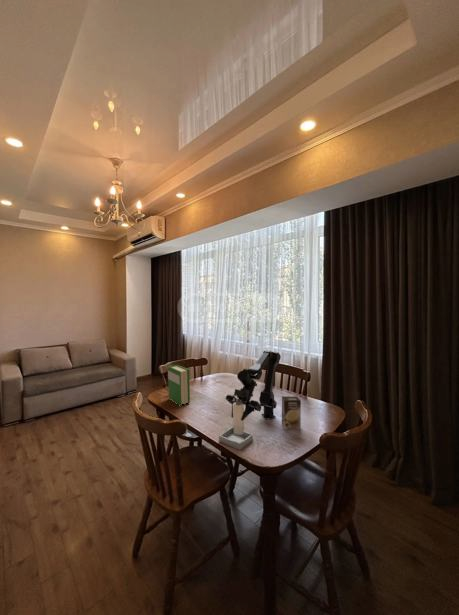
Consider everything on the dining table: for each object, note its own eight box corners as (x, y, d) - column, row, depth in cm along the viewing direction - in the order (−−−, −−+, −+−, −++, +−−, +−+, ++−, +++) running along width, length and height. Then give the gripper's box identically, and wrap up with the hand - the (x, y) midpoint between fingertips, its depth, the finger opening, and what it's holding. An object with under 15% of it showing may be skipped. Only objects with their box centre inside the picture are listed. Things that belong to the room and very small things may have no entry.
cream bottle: (232, 429, 127) (232, 399, 126) (243, 428, 127) (242, 398, 127) (233, 435, 122) (233, 403, 121) (244, 434, 122) (244, 402, 121)
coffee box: (284, 430, 135) (284, 400, 135) (281, 424, 142) (281, 396, 141) (301, 429, 136) (300, 400, 135) (297, 423, 142) (297, 395, 141)
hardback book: (189, 404, 172) (189, 369, 171) (180, 407, 167) (179, 371, 167) (178, 396, 186) (177, 364, 185) (168, 399, 181) (167, 366, 180)
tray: (232, 432, 134) (232, 426, 134) (252, 440, 126) (252, 434, 126) (219, 441, 125) (218, 435, 125) (240, 450, 117) (239, 444, 117)
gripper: (227, 379, 132) (214, 407, 124) (258, 385, 121) (246, 417, 113) (235, 389, 139) (224, 416, 130) (265, 396, 128) (255, 426, 120)
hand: (236, 418), depth 123 cm, fingers closed on cream bottle, 5 cm apart
